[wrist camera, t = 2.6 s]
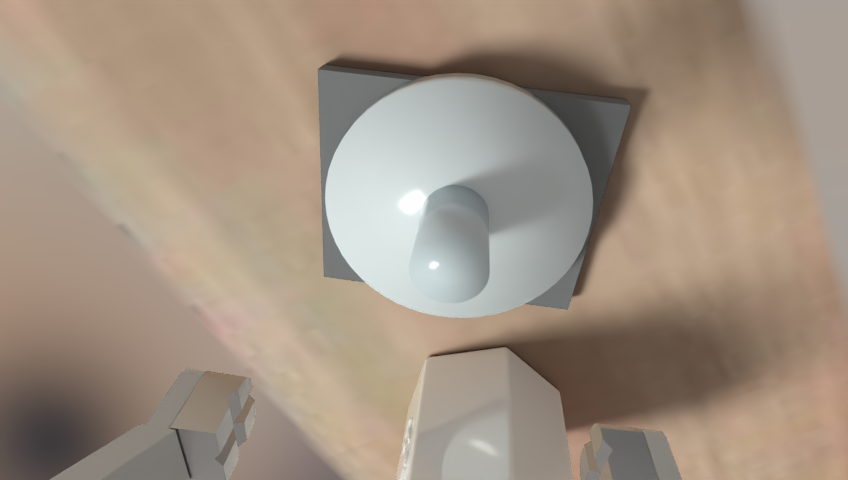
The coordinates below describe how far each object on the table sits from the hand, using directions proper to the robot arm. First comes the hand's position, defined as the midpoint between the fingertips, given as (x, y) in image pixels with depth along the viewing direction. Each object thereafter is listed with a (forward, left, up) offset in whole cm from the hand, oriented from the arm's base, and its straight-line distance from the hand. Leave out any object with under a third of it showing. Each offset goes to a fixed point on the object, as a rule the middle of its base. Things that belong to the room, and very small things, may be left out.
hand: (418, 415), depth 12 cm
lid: (0, 0, -12) cm, 12 cm away
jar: (-3, +13, -13) cm, 18 cm away
